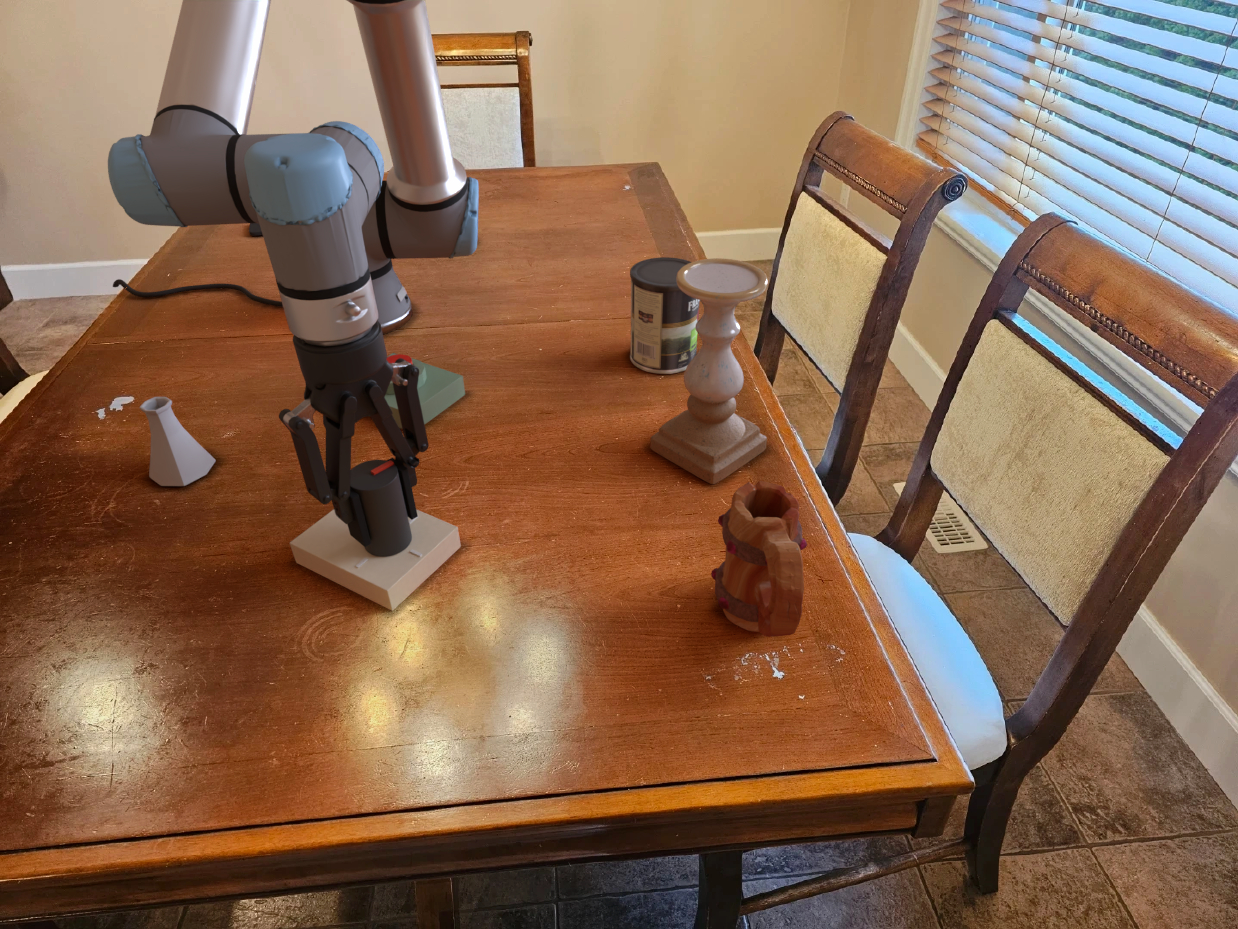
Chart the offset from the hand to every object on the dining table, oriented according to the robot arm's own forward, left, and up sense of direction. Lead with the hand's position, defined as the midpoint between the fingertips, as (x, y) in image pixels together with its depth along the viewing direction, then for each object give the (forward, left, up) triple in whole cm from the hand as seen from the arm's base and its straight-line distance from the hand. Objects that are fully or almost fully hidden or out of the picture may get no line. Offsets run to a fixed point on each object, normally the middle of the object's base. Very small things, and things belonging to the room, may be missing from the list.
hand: (384, 525), depth 84 cm
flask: (-34, -1, -5) cm, 34 cm away
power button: (-21, +25, -1) cm, 33 cm away
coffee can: (+5, +54, -5) cm, 55 cm away
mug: (+38, +11, -5) cm, 40 cm away
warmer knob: (0, 0, -2) cm, 2 cm away
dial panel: (-2, 0, -5) cm, 6 cm away
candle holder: (+21, +36, -5) cm, 42 cm away
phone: (-87, +63, -5) cm, 108 cm away
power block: (-21, +25, -5) cm, 33 cm away
